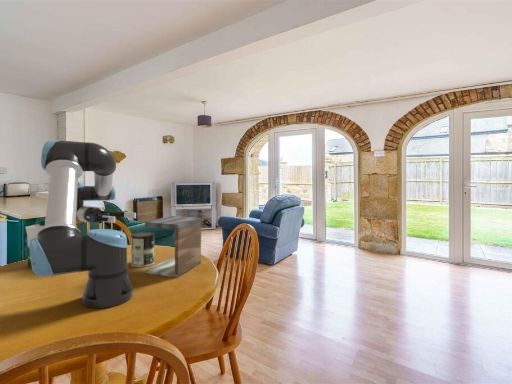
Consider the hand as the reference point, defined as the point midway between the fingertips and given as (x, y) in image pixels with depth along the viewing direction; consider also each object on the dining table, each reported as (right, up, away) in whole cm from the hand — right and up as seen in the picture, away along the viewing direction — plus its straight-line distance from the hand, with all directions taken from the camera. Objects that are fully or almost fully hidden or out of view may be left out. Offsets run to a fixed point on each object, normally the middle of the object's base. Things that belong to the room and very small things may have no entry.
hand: (125, 217), depth 134 cm
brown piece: (+25, -22, -6) cm, 34 cm away
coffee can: (+9, -22, -1) cm, 24 cm away
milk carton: (-35, -21, -7) cm, 41 cm away
